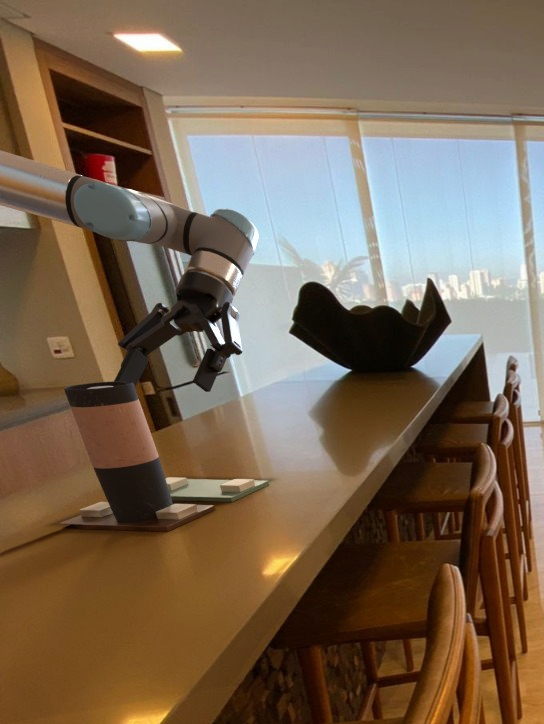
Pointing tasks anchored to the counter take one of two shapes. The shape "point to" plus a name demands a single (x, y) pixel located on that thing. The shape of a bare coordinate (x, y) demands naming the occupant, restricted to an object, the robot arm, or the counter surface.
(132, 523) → the strip
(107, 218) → the robot arm
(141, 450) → the travel mug
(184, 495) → the strip
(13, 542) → the counter surface
